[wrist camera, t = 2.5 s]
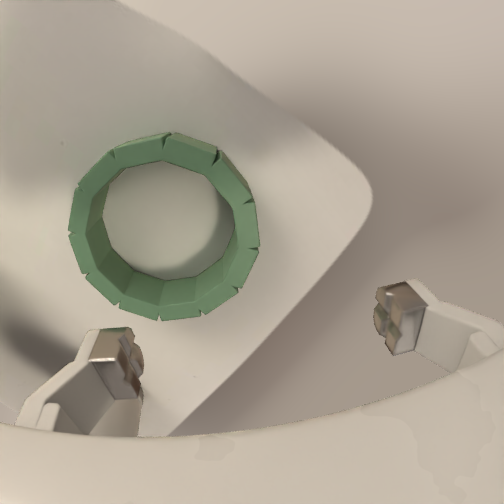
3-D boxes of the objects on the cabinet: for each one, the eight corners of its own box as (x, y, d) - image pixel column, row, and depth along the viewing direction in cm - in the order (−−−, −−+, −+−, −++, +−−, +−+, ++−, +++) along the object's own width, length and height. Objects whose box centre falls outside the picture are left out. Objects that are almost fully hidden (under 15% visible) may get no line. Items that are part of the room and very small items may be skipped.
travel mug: (103, 354, 24) (52, 578, 6) (157, 394, 26) (144, 598, 8) (68, 377, 25) (19, 561, 7) (118, 412, 27) (95, 586, 10)
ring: (177, 97, 16) (168, 95, 13) (286, 232, 20) (296, 252, 18) (59, 213, 18) (38, 230, 15) (165, 318, 22) (160, 345, 20)
